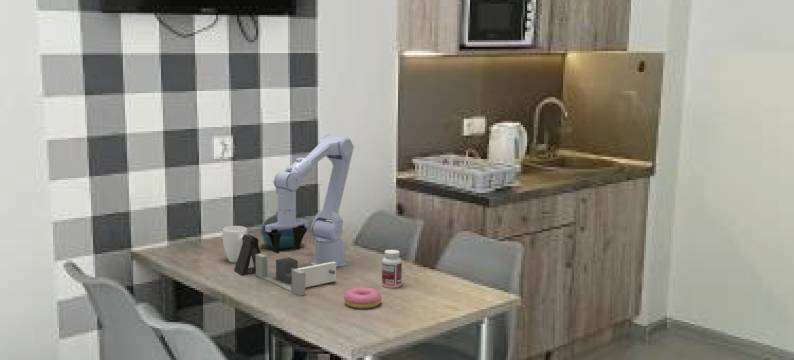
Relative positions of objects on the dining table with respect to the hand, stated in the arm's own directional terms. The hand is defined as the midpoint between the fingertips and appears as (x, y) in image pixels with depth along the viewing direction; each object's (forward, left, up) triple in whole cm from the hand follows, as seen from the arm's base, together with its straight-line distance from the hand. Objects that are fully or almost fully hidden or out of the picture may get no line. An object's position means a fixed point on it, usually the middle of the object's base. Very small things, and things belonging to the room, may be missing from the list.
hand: (286, 250), depth 257 cm
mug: (+3, -26, -9) cm, 27 cm away
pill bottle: (-23, +25, -9) cm, 35 cm away
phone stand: (+5, -14, -9) cm, 17 cm away
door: (-3, +13, -8) cm, 16 cm away
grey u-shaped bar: (+5, +4, -9) cm, 11 cm away
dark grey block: (0, +1, -9) cm, 9 cm away
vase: (-20, -35, -9) cm, 41 cm away
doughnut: (-5, +34, -10) cm, 36 cm away
